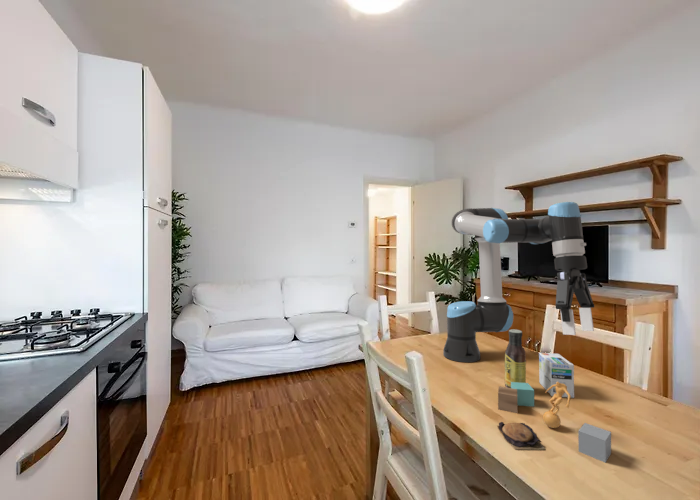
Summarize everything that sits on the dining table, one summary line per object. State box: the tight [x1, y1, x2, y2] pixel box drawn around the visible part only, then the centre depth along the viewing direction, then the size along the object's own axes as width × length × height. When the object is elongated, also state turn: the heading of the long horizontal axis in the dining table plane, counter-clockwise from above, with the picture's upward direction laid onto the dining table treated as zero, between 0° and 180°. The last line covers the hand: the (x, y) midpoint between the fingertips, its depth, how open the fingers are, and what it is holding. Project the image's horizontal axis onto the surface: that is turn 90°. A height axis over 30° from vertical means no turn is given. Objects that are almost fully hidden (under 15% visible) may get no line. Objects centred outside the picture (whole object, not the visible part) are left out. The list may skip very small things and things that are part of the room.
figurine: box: [542, 382, 572, 429], centre depth 83 cm, size 8×6×12 cm
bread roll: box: [496, 421, 546, 451], centre depth 79 cm, size 11×8×4 cm
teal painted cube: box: [511, 382, 535, 408], centre depth 97 cm, size 5×5×5 cm
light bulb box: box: [538, 352, 575, 399], centre depth 104 cm, size 11×7×11 cm, turn 168°
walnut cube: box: [497, 385, 518, 414], centre depth 94 cm, size 5×5×5 cm
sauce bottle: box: [504, 328, 527, 388], centre depth 105 cm, size 7×6×20 cm
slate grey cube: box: [577, 422, 612, 463], centre depth 73 cm, size 5×5×5 cm
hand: (579, 332), depth 87 cm, fingers open, 13 cm apart
